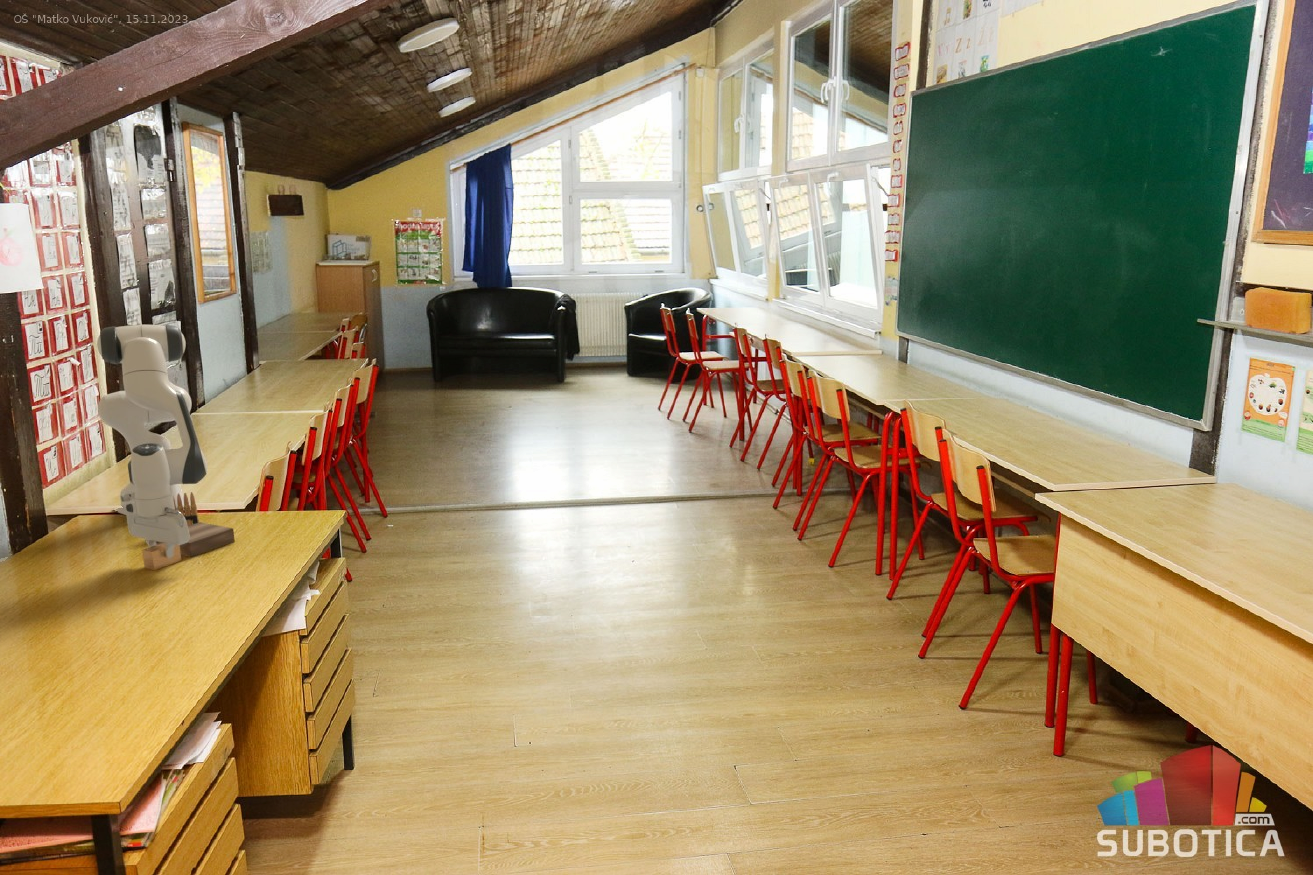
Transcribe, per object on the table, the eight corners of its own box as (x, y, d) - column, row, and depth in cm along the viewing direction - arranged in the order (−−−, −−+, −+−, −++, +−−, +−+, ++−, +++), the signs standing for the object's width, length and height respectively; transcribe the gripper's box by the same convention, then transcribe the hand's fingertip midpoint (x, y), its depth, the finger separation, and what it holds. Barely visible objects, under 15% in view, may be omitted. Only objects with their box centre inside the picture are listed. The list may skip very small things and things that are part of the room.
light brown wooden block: (144, 567, 254) (142, 549, 253) (171, 558, 261) (169, 540, 260) (154, 570, 252) (151, 552, 251) (181, 560, 259) (179, 542, 258)
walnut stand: (157, 549, 268) (155, 536, 267) (201, 535, 280) (199, 522, 279) (191, 557, 261) (189, 543, 261) (234, 541, 274) (233, 528, 273)
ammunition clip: (200, 529, 285) (195, 490, 283) (199, 531, 283) (194, 492, 281) (160, 534, 282) (155, 494, 279) (159, 536, 280) (154, 496, 277)
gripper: (192, 507, 251) (199, 557, 254) (141, 498, 260) (148, 547, 263) (170, 513, 245) (177, 565, 248) (119, 504, 255) (127, 554, 258)
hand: (162, 555), depth 256 cm, fingers closed on light brown wooden block, 4 cm apart
